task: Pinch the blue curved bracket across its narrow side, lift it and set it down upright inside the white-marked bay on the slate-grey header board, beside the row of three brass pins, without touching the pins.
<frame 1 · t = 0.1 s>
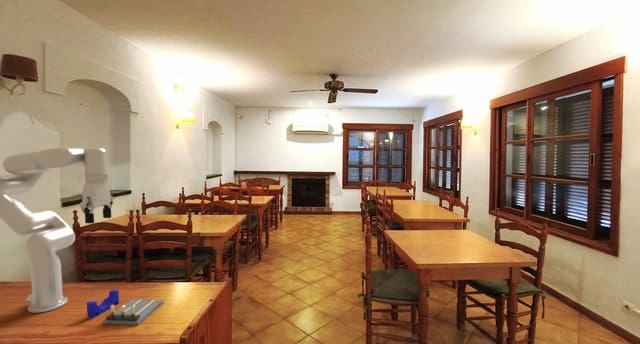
hand: (98, 220, 130), 37 cm above the table, tool pointing down, fingers open, 9 cm apart
brass pins: (122, 312, 121), on the header board, point 4 cm above the table
header board: (134, 312, 128), on the table
blue curved bracket: (102, 310, 130), on the table
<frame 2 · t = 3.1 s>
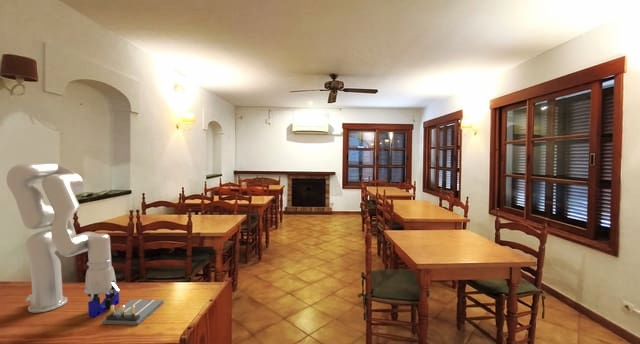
hand: (102, 307, 130), 1 cm above the table, tool pointing down, fingers closed on blue curved bracket, 4 cm apart
blue curved bracket: (103, 310, 131), on the table, touching gripper
when the fingers open (3 cm above the table, at t = 9.3 s): blue curved bracket stays where it is, resting on header board.
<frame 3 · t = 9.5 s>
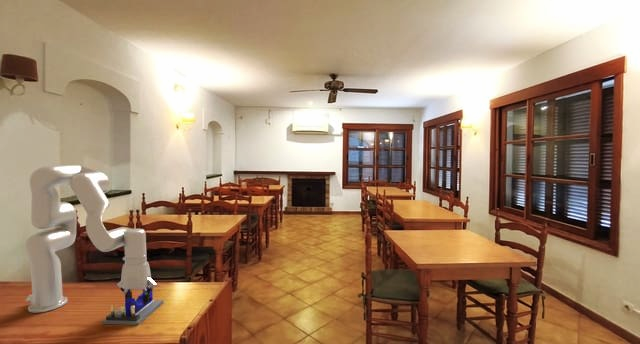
hand: (137, 302, 130), 3 cm above the table, tool pointing down, fingers open, 6 cm apart
blue curved bracket: (138, 307, 130), point 1 cm above the table, touching header board
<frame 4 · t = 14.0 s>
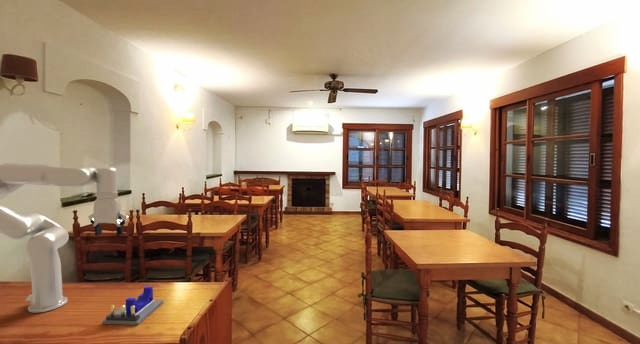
hand: (109, 235, 139), 28 cm above the table, tool pointing down, fingers open, 9 cm apart
nothing on the table moved.
at the end: blue curved bracket 0.3 cm from the target spot on the header board, point 1.0 cm above the header board's base; blue curved bracket tilted 0°; blue curved bracket touching header board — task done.
